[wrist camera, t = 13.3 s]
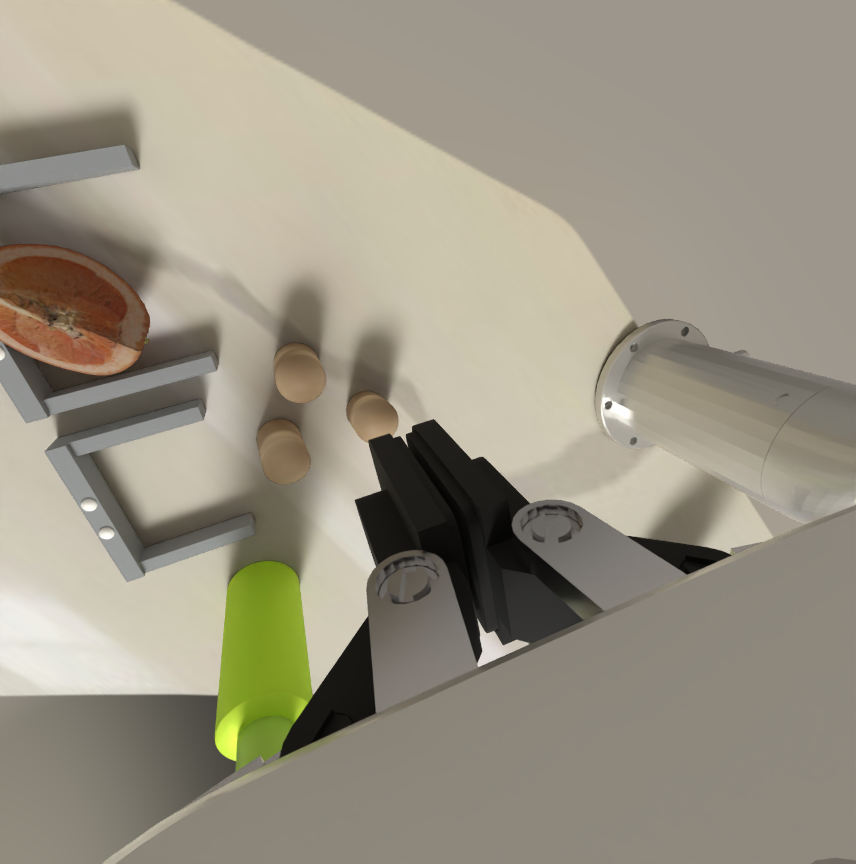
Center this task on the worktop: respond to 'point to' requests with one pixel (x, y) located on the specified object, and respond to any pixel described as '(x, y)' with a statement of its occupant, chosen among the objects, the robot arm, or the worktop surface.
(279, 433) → the cork
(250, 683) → the soap dispenser
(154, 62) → the worktop surface
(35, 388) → the corral
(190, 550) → the corral
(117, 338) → the fruit slice
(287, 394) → the cork
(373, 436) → the cork
